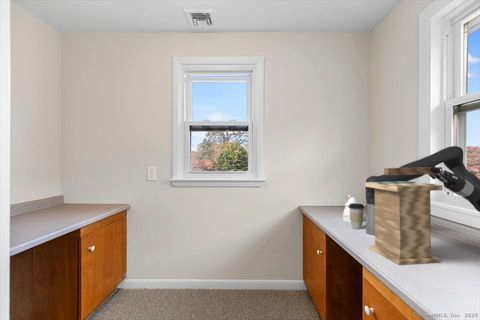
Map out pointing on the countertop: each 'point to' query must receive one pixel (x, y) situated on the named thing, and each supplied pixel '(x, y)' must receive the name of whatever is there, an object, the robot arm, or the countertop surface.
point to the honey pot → (346, 210)
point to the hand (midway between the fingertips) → (428, 167)
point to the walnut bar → (409, 171)
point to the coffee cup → (356, 215)
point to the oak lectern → (403, 221)
